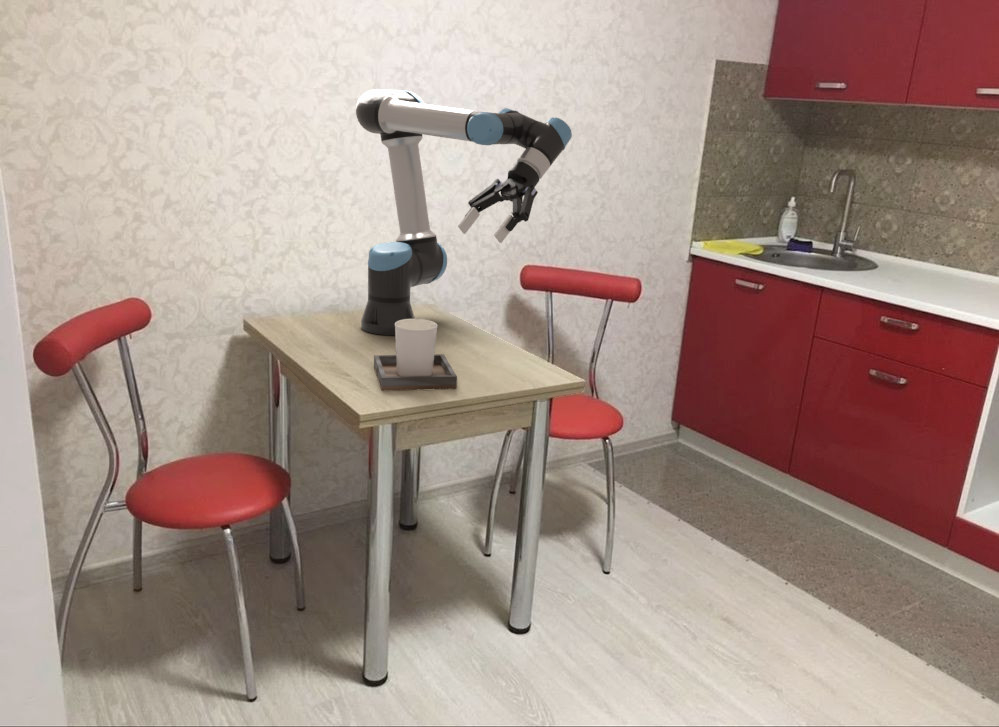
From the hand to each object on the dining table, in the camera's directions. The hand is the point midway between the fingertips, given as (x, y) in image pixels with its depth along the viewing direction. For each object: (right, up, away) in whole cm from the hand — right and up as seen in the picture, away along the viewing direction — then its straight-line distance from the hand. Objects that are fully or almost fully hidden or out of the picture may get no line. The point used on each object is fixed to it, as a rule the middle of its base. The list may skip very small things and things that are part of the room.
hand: (478, 234), depth 208 cm
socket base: (-15, -35, -7) cm, 39 cm away
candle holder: (-15, -34, -7) cm, 38 cm away
